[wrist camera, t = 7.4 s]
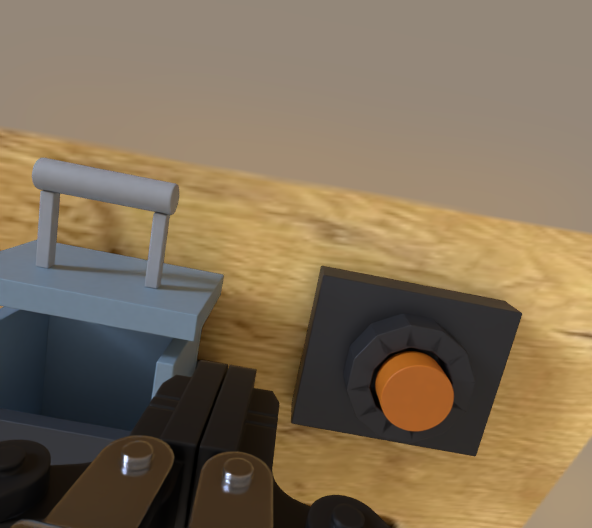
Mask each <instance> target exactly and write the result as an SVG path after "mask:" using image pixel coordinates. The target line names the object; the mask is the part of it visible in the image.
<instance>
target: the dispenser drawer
mask: <svg viewBox="0 0 592 528" xmlns="http://www.w3.org/2000/svg"><path fill="white" fill-rule="evenodd" d="M32 180H33V183H34V185H35V187H36V188H38V189H41V190H43V191H41V196H40V210H39V225H38V240H35V241H31V242H28V243H25V244H22V245H19V246H15V247H12V248H9V249H6V250H3V251H0V306H4V307H2V308H1V309H0V408H3V409H8V410H14V411H20V412H25V413H31V414H37V415H42V416H48V417H54V418H59V419H65V420H71V421H76V422H82V423H88V424H93V425H99V426H105V427H110V428H116V429H122V430H127V431H132V430H133V428H134V427H135V425H136V424H137V422H138V421H139V419H140V417H141V416H142V414H143V413H144V411H145V410H146V408H147V406H149V403H150V402H151V400H152V399H153V397H155V394H156V392H157V391H158V389H159V388H160V386H161V384H162V383H163V382H165V381H167V380H168V379H170V378H172V377H173V376H175V375H182V376H188V377H192V375H193V373H194V371H195V369H196V362H197V356H198V350H199V344H200V337H201V331H202V326H203V325H204V323H205V321H206V319H207V318H208V316H209V314H210V312H211V311H212V309H213V307H214V305H215V304H216V302H217V300H218V298H219V297H220V295H221V290H222V284H223V278H224V275H223V274H217V273H212V272H207V271H202V270H196V269H191V268H186V267H181V266H175V265H170V264H165V263H164V256H165V248H166V241H167V233H168V226H169V218H170V215H173V214H174V213H175V211H176V208H177V205H178V200H179V186H178V185H177V184H175V183H169V182H164V181H159V180H154V179H149V178H144V177H139V176H134V175H129V174H124V173H119V172H114V171H109V170H104V169H99V168H94V167H88V166H83V165H78V164H73V163H68V162H63V161H58V160H53V159H48V158H40V159H38V160H37V161H36V163H35V165H34V167H33V172H32ZM60 193H61V194H66V195H72V196H77V197H82V198H87V199H92V200H97V201H102V202H107V203H113V204H118V205H123V206H128V207H133V208H138V209H143V210H148V211H154V212H155V213H154V215H153V223H152V231H151V239H150V247H149V255H148V260H144V259H139V258H133V257H128V256H123V255H118V254H113V253H107V252H102V251H97V250H92V249H86V248H81V247H76V246H71V245H65V244H60V243H56V240H57V227H58V215H59V202H60Z"/></svg>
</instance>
